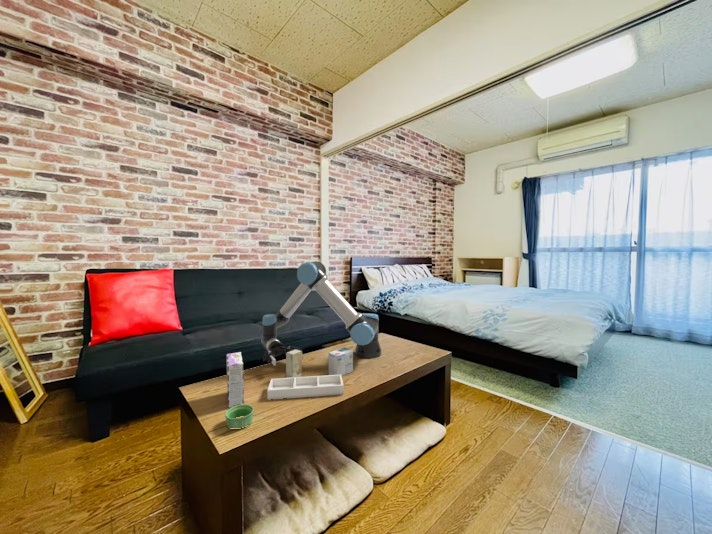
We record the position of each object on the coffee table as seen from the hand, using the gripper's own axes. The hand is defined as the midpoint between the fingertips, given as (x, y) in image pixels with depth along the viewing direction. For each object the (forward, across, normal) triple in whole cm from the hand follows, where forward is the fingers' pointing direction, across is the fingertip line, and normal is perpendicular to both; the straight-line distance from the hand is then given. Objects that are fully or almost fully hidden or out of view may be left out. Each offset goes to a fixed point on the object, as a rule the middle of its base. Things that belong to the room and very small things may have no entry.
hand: (288, 359), depth 139 cm
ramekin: (+29, +28, -7) cm, 41 cm away
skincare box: (+5, 0, -7) cm, 9 cm away
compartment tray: (+20, 0, -7) cm, 22 cm away
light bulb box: (+13, -21, -7) cm, 26 cm away
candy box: (+11, +26, -7) cm, 29 cm away
